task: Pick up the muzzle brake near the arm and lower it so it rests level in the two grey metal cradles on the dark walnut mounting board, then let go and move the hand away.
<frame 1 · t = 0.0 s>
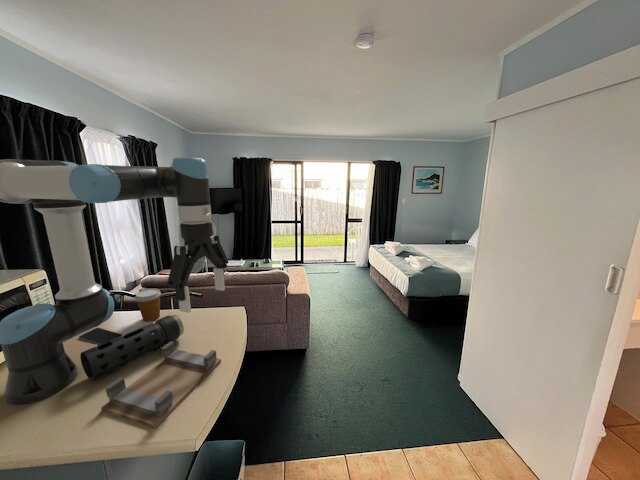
hand: (204, 299, 74), 28 cm above the counter, tool pointing down, fingers open, 13 cm apart
mounting board: (168, 383, 83), on the counter
smartphone: (101, 338, 106), on the counter
disposable coffee cup: (151, 318, 121), on the counter
muzzle brake: (140, 358, 95), on the counter
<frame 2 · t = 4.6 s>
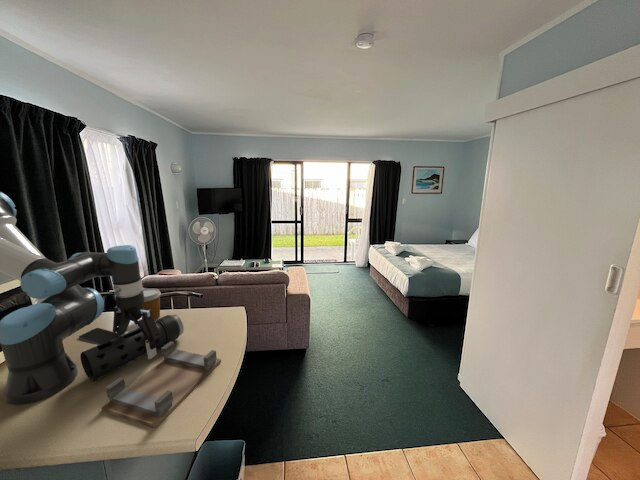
hand: (139, 353, 94), 1 cm above the counter, tool pointing down, fingers closed on muzzle brake, 10 cm apart
muzzle brake: (140, 357, 95), on the counter, touching gripper
everything else where it was.
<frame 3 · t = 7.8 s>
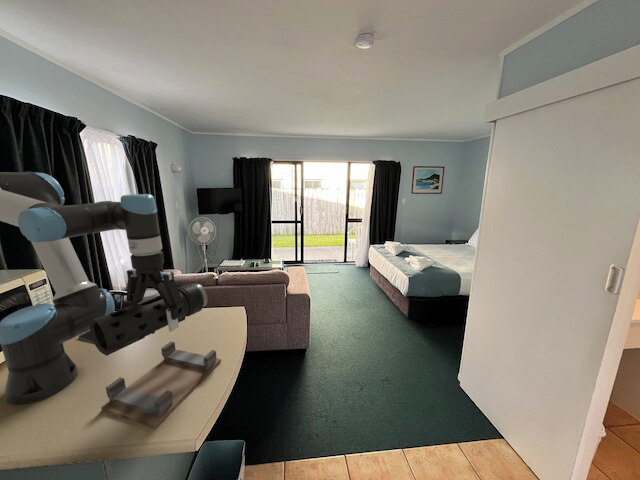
hand: (158, 326, 80), 18 cm above the counter, tool pointing down, fingers closed on muzzle brake, 10 cm apart
muzzle brake: (159, 331, 80), point 17 cm above the counter, touching gripper
everything else where it was.
when the fingers open (5 cm above the counter, at t = 11.0 s): muzzle brake stays where it is, resting on mounting board.
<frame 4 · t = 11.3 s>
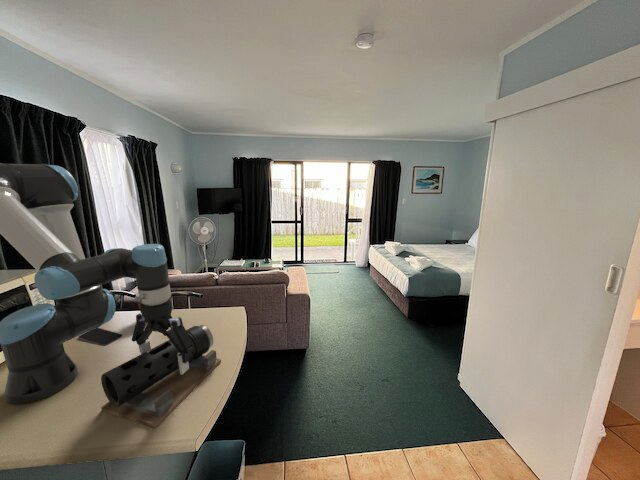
hand: (165, 366, 81), 6 cm above the counter, tool pointing down, fingers open, 13 cm apart
muzzle brake: (167, 376, 82), point 2 cm above the counter, touching mounting board
everything else where it was.
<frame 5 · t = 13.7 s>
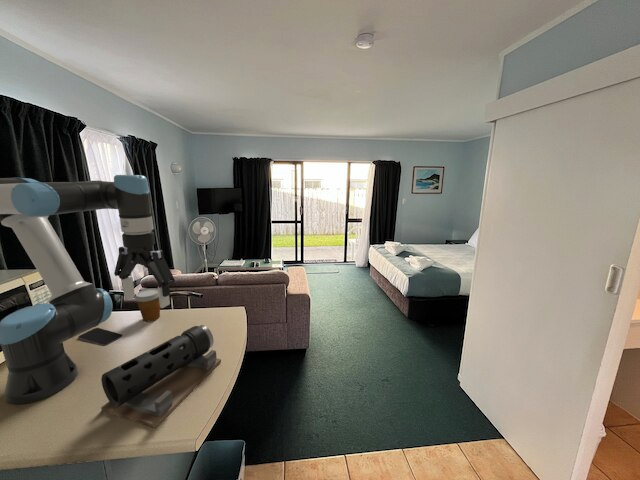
hand: (147, 302, 82), 24 cm above the counter, tool pointing down, fingers open, 13 cm apart
nothing on the counter moved.
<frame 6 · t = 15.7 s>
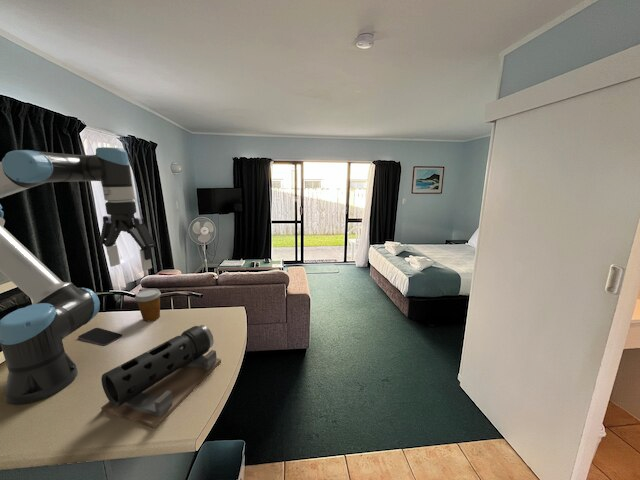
hand: (131, 267, 89), 32 cm above the counter, tool pointing down, fingers open, 13 cm apart
nothing on the counter moved.
at the end: muzzle brake inside the target area on the mounting board (0.1 cm from its centre), point 2.3 cm above the mounting board's base; muzzle brake tilted 0°; the gripper is holding nothing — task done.
